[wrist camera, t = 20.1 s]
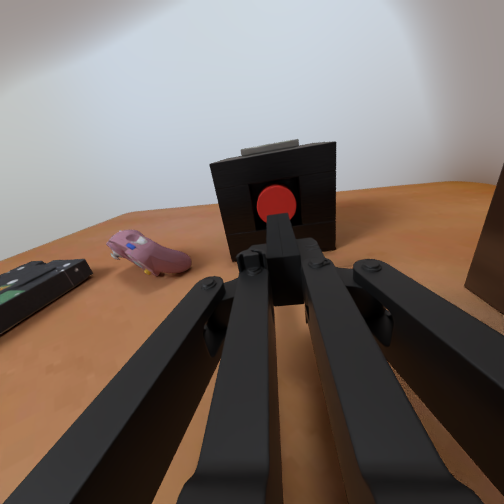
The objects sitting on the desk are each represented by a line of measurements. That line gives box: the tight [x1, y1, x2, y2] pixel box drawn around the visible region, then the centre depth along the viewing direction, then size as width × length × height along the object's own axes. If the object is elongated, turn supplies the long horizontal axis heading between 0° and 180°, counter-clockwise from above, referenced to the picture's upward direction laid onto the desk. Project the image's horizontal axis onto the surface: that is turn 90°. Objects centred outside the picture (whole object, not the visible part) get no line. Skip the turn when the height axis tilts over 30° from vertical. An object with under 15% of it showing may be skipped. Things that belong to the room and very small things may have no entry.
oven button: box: [257, 183, 296, 223], centre depth 23 cm, size 4×3×4 cm, turn 86°
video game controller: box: [106, 230, 191, 276], centre depth 26 cm, size 10×5×7 cm, turn 50°
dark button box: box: [210, 139, 336, 261], centre depth 27 cm, size 12×10×12 cm
